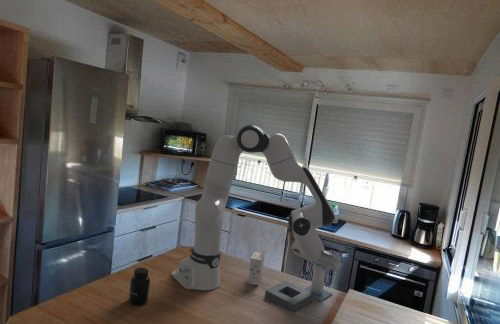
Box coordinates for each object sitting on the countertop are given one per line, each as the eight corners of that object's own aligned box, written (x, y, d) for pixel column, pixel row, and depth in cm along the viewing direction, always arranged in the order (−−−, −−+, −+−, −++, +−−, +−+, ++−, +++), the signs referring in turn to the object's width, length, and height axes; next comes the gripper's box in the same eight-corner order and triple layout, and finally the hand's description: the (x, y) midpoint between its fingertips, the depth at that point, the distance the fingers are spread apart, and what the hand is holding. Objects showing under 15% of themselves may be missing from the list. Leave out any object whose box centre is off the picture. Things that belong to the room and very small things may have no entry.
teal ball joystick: (308, 291, 147) (312, 259, 145) (314, 287, 151) (318, 257, 149) (318, 295, 144) (323, 264, 142) (324, 292, 147) (328, 261, 146)
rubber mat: (300, 292, 147) (300, 290, 146) (312, 285, 154) (312, 284, 154) (320, 301, 140) (321, 300, 140) (332, 294, 148) (332, 293, 148)
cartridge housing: (264, 297, 139) (265, 290, 139) (284, 287, 150) (285, 280, 149) (293, 312, 130) (294, 304, 130) (312, 300, 141) (313, 293, 140)
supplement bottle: (127, 306, 121) (130, 274, 120) (129, 297, 127) (131, 266, 126) (148, 306, 123) (150, 274, 121) (148, 296, 129) (151, 266, 128)
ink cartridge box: (251, 275, 157) (255, 245, 156) (261, 277, 156) (265, 247, 155) (247, 283, 149) (251, 251, 147) (258, 286, 148) (262, 253, 146)
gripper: (339, 249, 133) (346, 267, 141) (295, 234, 146) (304, 251, 154) (332, 263, 130) (340, 281, 138) (288, 246, 143) (297, 263, 151)
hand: (320, 265), depth 146 cm, fingers open, 5 cm apart
